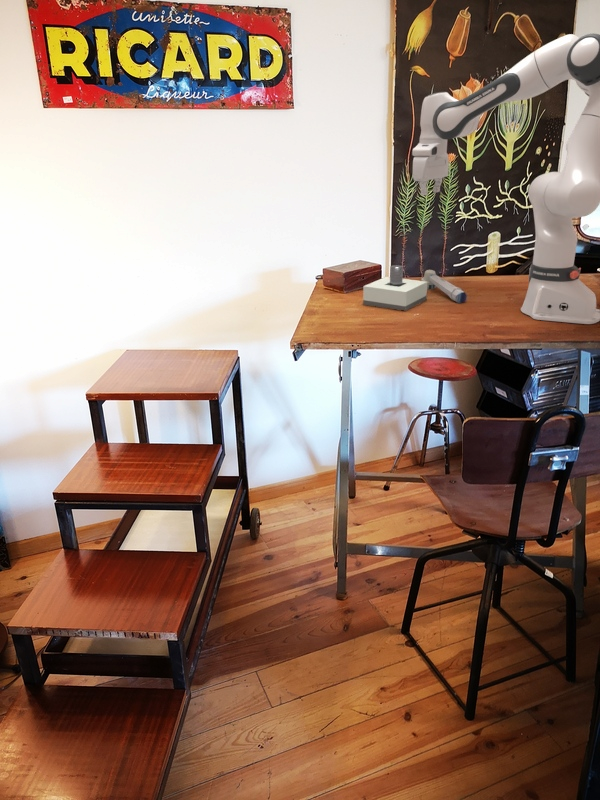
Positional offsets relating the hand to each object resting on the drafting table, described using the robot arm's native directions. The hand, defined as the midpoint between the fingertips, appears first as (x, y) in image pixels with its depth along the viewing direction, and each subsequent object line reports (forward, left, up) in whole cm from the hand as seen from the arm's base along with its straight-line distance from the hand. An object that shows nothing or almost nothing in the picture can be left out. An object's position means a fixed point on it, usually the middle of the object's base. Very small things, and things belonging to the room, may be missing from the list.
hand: (430, 193), depth 200 cm
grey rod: (-10, +7, -32) cm, 34 cm away
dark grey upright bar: (-1, +24, -30) cm, 38 cm away
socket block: (-1, +24, -31) cm, 40 cm away
